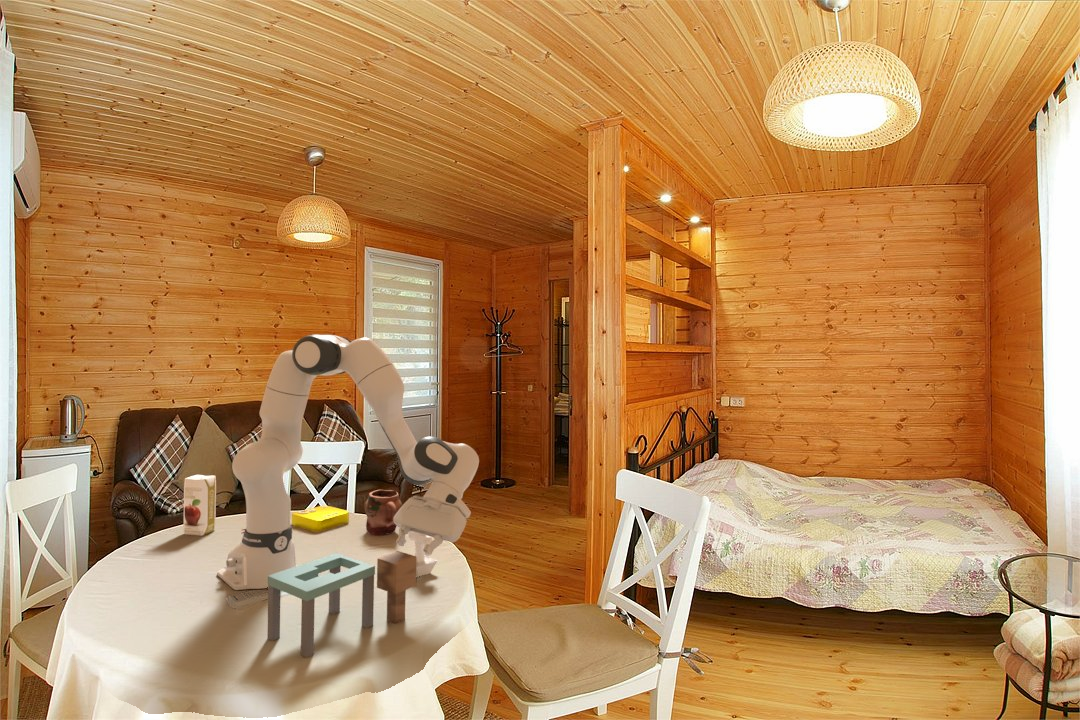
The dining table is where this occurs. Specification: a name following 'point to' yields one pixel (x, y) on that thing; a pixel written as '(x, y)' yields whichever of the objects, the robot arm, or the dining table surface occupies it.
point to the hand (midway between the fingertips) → (412, 548)
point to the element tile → (320, 518)
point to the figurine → (422, 553)
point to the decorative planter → (381, 512)
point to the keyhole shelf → (319, 592)
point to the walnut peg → (396, 581)
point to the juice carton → (199, 504)
